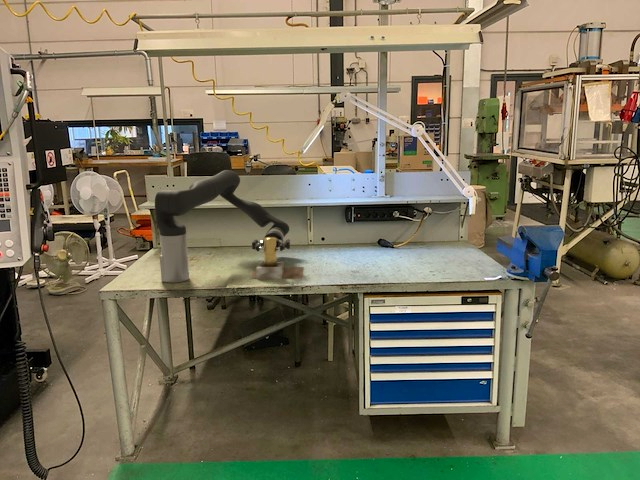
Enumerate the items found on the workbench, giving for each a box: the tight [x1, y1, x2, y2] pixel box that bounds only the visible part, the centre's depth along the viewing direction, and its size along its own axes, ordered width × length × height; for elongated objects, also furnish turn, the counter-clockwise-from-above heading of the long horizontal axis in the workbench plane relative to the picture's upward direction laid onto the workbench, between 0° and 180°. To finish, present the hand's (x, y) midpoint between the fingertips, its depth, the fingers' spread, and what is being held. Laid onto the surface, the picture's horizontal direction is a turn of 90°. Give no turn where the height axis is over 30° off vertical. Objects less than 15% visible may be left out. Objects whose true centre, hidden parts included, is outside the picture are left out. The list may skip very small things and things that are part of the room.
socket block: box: [249, 261, 305, 280], centre depth 181 cm, size 19×16×5 cm
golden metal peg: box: [263, 237, 277, 267], centre depth 176 cm, size 4×4×14 cm
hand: (269, 248), depth 175 cm, fingers open, 8 cm apart
